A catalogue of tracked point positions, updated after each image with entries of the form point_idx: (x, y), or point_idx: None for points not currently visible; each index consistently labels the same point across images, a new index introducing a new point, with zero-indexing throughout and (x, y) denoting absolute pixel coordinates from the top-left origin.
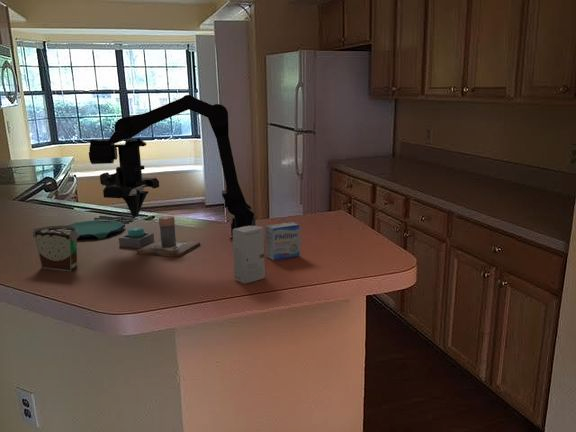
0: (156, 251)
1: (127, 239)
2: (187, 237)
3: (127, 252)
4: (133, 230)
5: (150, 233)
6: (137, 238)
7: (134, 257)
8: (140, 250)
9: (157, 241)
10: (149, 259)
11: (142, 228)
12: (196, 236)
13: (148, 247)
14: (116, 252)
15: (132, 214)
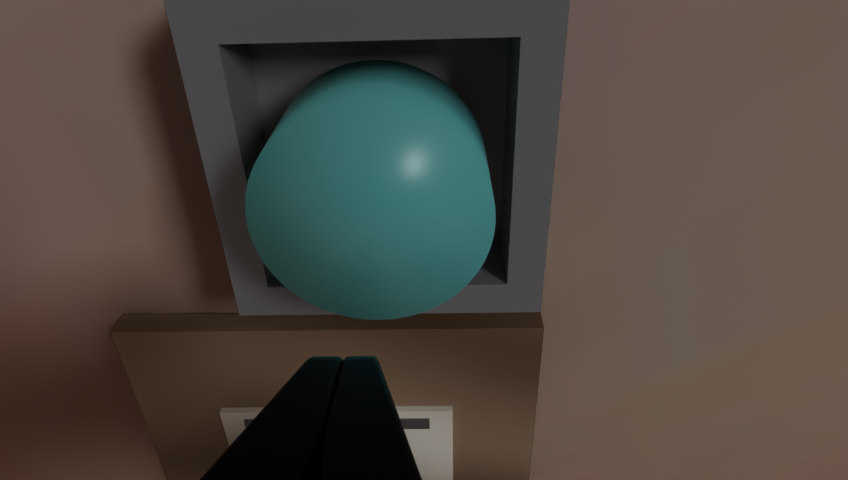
0: (184, 468)
1: (207, 148)
2: (724, 431)
3: (95, 218)
4: (302, 226)
5: (517, 288)
6: (259, 275)
7: (34, 352)
8: (133, 358)
9: (451, 341)
10: (74, 458)
11: (453, 279)
12: (761, 473)
13: (242, 370)
14: (21, 110)
15: (281, 409)
